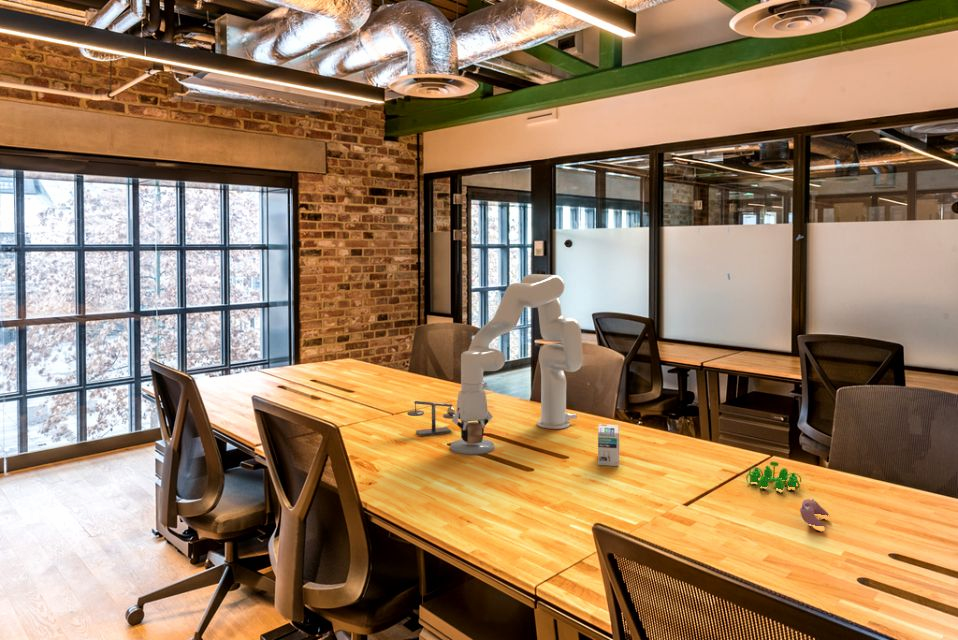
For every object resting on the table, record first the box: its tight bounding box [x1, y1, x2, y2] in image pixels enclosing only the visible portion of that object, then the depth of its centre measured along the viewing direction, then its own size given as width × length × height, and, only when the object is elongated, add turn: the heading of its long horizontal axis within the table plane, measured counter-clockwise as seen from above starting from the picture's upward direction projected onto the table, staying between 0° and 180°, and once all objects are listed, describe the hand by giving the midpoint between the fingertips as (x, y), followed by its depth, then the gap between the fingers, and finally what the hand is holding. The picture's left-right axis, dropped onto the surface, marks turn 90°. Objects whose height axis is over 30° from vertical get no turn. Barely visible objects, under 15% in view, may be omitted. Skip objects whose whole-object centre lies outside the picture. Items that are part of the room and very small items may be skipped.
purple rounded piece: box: [799, 498, 830, 526], centre depth 167 cm, size 10×5×7 cm, turn 146°
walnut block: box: [463, 421, 482, 444], centre depth 230 cm, size 5×5×6 cm
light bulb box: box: [597, 423, 620, 467], centre depth 216 cm, size 11×7×11 cm, turn 169°
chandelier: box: [745, 461, 802, 490], centre depth 194 cm, size 15×15×7 cm
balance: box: [406, 400, 456, 437], centre depth 249 cm, size 20×6×13 cm, turn 113°
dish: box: [450, 438, 495, 456], centre depth 230 cm, size 15×15×1 cm
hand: (472, 439), depth 230 cm, fingers closed on walnut block, 5 cm apart
